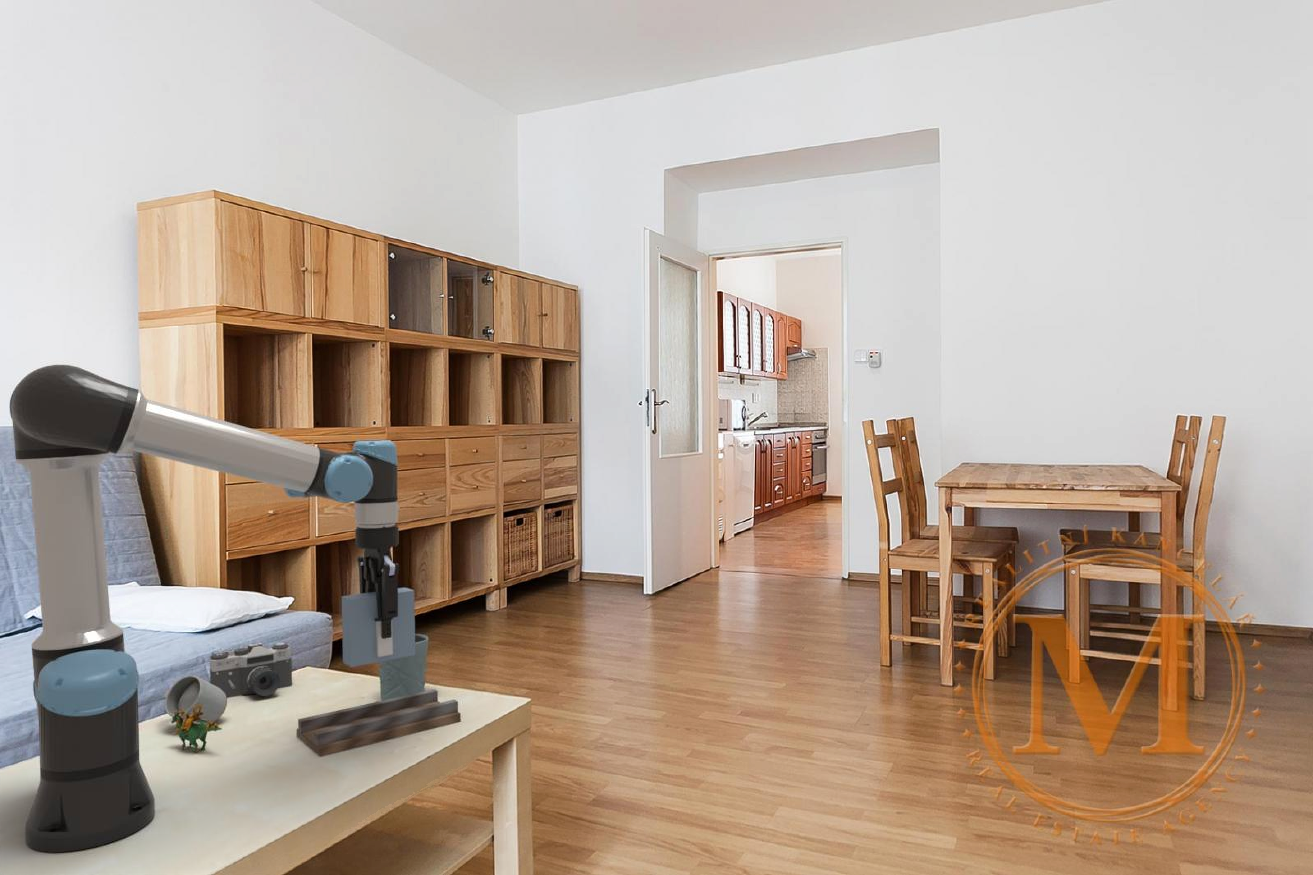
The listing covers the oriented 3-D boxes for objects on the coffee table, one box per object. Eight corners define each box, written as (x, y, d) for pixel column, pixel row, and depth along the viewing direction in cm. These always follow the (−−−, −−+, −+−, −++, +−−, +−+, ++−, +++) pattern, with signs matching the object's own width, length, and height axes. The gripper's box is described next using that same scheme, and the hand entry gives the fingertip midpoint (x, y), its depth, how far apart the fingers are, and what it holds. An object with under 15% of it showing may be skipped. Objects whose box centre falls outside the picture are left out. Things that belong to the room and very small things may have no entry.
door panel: (351, 667, 154) (349, 599, 154) (343, 662, 157) (341, 596, 157) (415, 654, 162) (414, 590, 162) (406, 650, 165) (405, 587, 165)
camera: (219, 710, 172) (218, 660, 171) (208, 698, 179) (207, 649, 179) (302, 694, 181) (301, 646, 181) (288, 683, 189) (287, 637, 189)
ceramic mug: (210, 735, 162) (238, 699, 164) (177, 724, 156) (207, 687, 158) (182, 705, 168) (209, 671, 170) (148, 694, 161) (178, 658, 163)
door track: (319, 756, 147) (319, 736, 147) (296, 737, 156) (296, 717, 156) (460, 721, 164) (460, 702, 164) (432, 705, 173) (431, 688, 173)
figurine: (180, 743, 154) (179, 697, 153) (229, 753, 149) (229, 706, 149) (164, 750, 151) (163, 703, 151) (214, 760, 146) (213, 711, 146)
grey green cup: (368, 704, 174) (367, 644, 174) (390, 688, 184) (390, 632, 184) (416, 706, 173) (415, 645, 172) (436, 690, 183) (435, 633, 182)
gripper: (416, 527, 155) (419, 658, 155) (378, 519, 168) (380, 640, 169) (375, 531, 150) (378, 666, 151) (339, 522, 163) (342, 647, 164)
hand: (379, 652), depth 160 cm, fingers closed on door panel, 4 cm apart
